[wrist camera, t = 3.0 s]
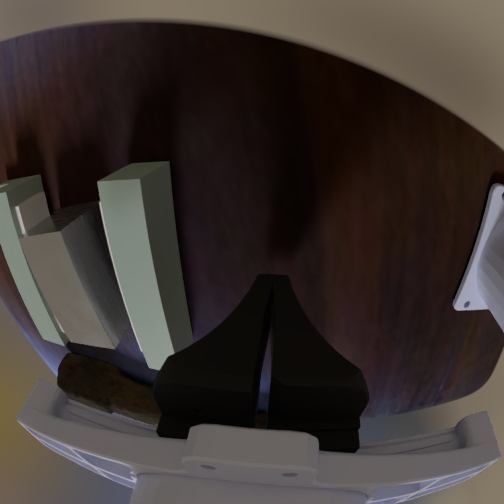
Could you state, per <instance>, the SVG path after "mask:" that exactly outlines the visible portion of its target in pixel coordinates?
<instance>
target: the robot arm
mask: <svg viewBox="0 0 504 504" xmlns="http://www.w3.org/2000/svg"><path fill="white" fill-rule="evenodd" d="M503 192H504V185H502V184H498V183H495V184H493V185H492V187H491V189H490V192H489V196H488V201H487V205H486V209H485V213H484V216H483V220H482V224H481V227H480V230H479V234H478V237H477V240H476V243H475V246H474V249H473V252H472V255H471V258H470V261H469V264H468V266H467V269H466V272H465V274H464V277H463V280H462V282H461V285H460V287H459V289H458V292H457V294H456V296H455V299H454V301H453V306H454V308H455V309H456V310H458V311H459V310H479V309H489V310H490V312H491V313H492V315H493V316H494V318H495V319H496V321H497V322H498V324H499V325H500V327H501V329H502V330H503V332H504V195H503V197H502V194H503ZM269 332H270V343H271V382H270V394H269V405H268V416H267V426H266V429H255V428H256V418H257V409H258V399H259V390H260V380H261V372H262V366H263V362H264V357H265V352H266V347H267V342H268V337H269ZM152 394H153V397H154V399H155V401H156V403H157V405H158V407H159V409H160V411H161V413H162V414H161V417H160V420H159V423H158V426H157V427H154V426H150V425H146V424H142V423H139V422H135V421H132V420H128V419H125V418H122V417H118V416H115V415H112V414H109V413H106V412H103V411H100V410H97V409H95V408H92V407H89V406H86V405H84V404H81V403H79V402H76V401H74V400H71V399H69V398H67V396H66V394H65V393H64V391H63V390H62V389H61V388H59V387H58V386H56V385H54V384H52V383H49V382H47V381H45V380H43V379H39V380H38V382H37V383H36V385H35V387H34V388H33V390H32V391H31V393H30V395H29V396H28V398H27V400H26V402H25V403H24V405H23V407H22V408H21V410H20V412H19V413H18V415H17V417H16V420H17V421H18V422H19V423H20V424H21V425H22V426H23V427H24V428H25V429H27V430H28V431H29V432H30V433H31V434H32V435H33V436H34V437H35V438H37V439H38V440H39V441H40V442H41V443H42V444H44V445H45V446H46V447H48V448H50V449H51V450H53V451H55V452H57V453H59V454H60V455H62V456H64V457H66V458H68V459H70V460H72V461H74V462H75V463H78V464H79V465H81V466H83V467H85V468H87V469H89V470H91V471H93V472H96V473H98V474H100V475H102V476H104V477H106V478H108V479H111V480H113V481H116V482H118V483H120V484H123V485H125V486H128V487H131V488H133V489H134V490H133V493H132V496H131V500H130V503H129V504H395V503H399V502H403V501H407V500H410V499H414V498H417V497H420V496H424V495H427V494H429V493H433V492H436V491H439V490H442V489H444V488H447V487H450V486H453V485H455V484H458V483H461V482H463V481H466V480H468V479H469V478H471V477H473V476H474V475H476V474H477V473H479V472H480V471H482V470H484V469H485V468H486V467H488V466H489V465H491V464H492V463H494V462H495V461H496V460H498V459H499V458H500V457H501V455H500V451H499V447H498V444H497V440H496V437H495V434H494V431H493V428H492V425H491V422H490V419H489V416H488V413H487V411H482V412H479V413H476V414H472V415H469V416H466V417H465V418H463V419H462V420H461V421H460V422H459V423H458V424H457V425H456V426H455V427H453V428H449V429H445V430H440V431H436V432H431V433H427V434H422V435H416V436H411V437H405V438H399V439H392V440H384V441H376V442H367V443H359V433H358V429H359V428H360V418H359V417H360V416H361V414H362V413H363V411H364V409H365V408H366V406H367V404H368V402H369V392H368V387H367V384H366V381H365V378H364V376H363V373H362V371H361V369H359V368H358V367H357V366H355V365H354V364H352V363H351V362H350V361H348V360H347V359H345V358H344V357H343V356H342V355H340V354H339V353H338V352H337V351H336V350H335V349H334V348H333V347H332V346H331V345H330V344H329V343H328V342H327V341H326V340H325V339H324V338H323V337H322V335H321V334H320V333H319V332H318V331H317V329H316V328H315V327H314V325H313V324H312V323H311V321H310V320H309V318H308V317H307V315H306V313H305V312H304V310H303V308H302V307H301V305H300V303H299V301H298V299H297V297H296V295H295V293H294V290H293V288H292V285H291V282H290V278H289V277H288V276H287V275H273V274H259V275H258V276H257V277H256V280H255V282H254V283H253V285H252V287H251V288H250V290H249V291H248V293H247V294H246V295H245V297H244V298H243V300H242V301H241V302H240V303H239V304H238V306H237V307H236V308H235V309H234V310H233V312H232V313H231V314H230V315H229V316H228V317H227V318H226V319H225V320H224V321H223V322H222V323H220V324H219V325H218V326H217V327H216V328H215V329H213V330H212V331H211V332H210V333H208V334H207V335H206V336H204V337H203V338H201V339H200V340H198V341H197V342H195V343H193V344H192V345H190V346H188V347H187V348H185V349H183V350H181V351H179V352H176V353H174V354H172V355H170V356H168V357H167V359H166V360H165V362H164V364H163V365H162V367H161V369H160V370H159V372H158V375H157V377H156V380H155V382H154V385H153V388H152Z"/></svg>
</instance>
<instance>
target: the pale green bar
mask: <svg viewBox="0 0 504 504" xmlns="http://www.w3.org/2000/svg"><path fill="white" fill-rule="evenodd" d="M48 216H50V214H49V210H48V206H47V201H46V197H45V192H44V190H43V185H42V180H41V174H40V175H34V176H29V177H23V178H18V179H13V180H8V181H5V182H4V183H2V184H0V244H1V247H2V249H3V252H4V255H5V258H6V260H7V263H8V266H9V268H10V271H11V273H12V276H13V278H14V281H15V283H16V285H17V288H18V290H19V292H20V294H21V296H22V299H23V301H24V303H25V305H26V307H27V309H28V311H29V313H30V315H31V317H32V319H33V321H34V323H35V325H36V327H37V328H38V330H39V332H40V334H41V336H42V338H43V339H45V340H48V341H51V342H54V343H57V344H60V345H63V346H66V344H67V343H68V341H69V339H68V337H67V335H66V334H65V332H64V331H63V329H62V327H61V326H60V324H59V322H58V320H57V319H56V317H55V315H54V313H53V312H52V310H51V308H50V306H49V304H48V302H47V301H46V299H45V297H44V295H43V293H42V291H41V289H40V287H39V285H38V283H37V281H36V279H35V277H34V274H33V272H32V270H31V268H30V266H29V263H28V261H27V259H26V256H25V254H24V252H23V249H22V247H21V244H20V242H19V239H18V238H19V237H20V236H22V235H23V234H24V233H26V232H27V231H28V230H30V229H31V228H32V227H34V226H35V225H37V224H38V223H39V222H41V221H42V220H44V219H45V218H47V217H48Z"/></svg>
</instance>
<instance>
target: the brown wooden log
mask: <svg viewBox="0 0 504 504" xmlns="http://www.w3.org/2000/svg"><path fill="white" fill-rule="evenodd" d="M57 384H58V387H59V388H61V389H62V390H63V391H64V393H65V394H66V396H67V398H69V399H71V400H74V401H76V402H79V403H81V404H84V405H86V406H89V407H92V408H95V409H97V410H100V411H103V412H106V413H109V414H112V413H113V412H116V413H118V414H122V415H125V416H127V417H130V418H133V419H135V420H139V421H141V422H144V423H147V424H150V425H153V426H156V427H157V426H158V423H159V420H160V417H161V414H162V413H161V411H160V409H159V407H158V405H157V403H156V401H155V399H154V397H153V394H152V388H153V387H151V386H148V385H145V384H142V383H139V382H136V381H134V380H133V379H130V378H128V377H126V376H124V373H123V371H122V370H121V369H120V368H119V367H117V366H115V365H112V364H109V363H107V362H104V361H101V360H98V359H93V358H90V357H86V356H82V355H77V354H73V353H67V354H66V355H65V357H64V358H63V360H62V361H61V363H60V365H59V367H58V377H57ZM267 416H268V412H267V411H265V412H262V413H257V418H256V428H255V429H266V426H267Z"/></svg>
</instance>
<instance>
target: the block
mask: <svg viewBox="0 0 504 504" xmlns="http://www.w3.org/2000/svg"><path fill="white" fill-rule="evenodd" d="M99 202H100V200H97V201H92V202H87V203H82V204H78V205H73V206H68V207H64V208H60V209H59V210H57V211H56V212H54V213H53V214H51V215H50V216H48V217H47V218H45V219H44V220H42V221H41V222H39V223H38V224H37V225H35V226H34V227H32V228H31V229H30V230H28V231H27V232H26V233H24V234H23V235H22V236H20V237H19V238H18V239H19V242H20V244H21V247H22V249H23V252H24V254H25V256H26V259H27V261H28V263H29V266H30V268H31V270H32V272H33V274H34V277H35V279H36V281H37V283H38V285H39V287H40V289H41V291H42V293H43V295H44V297H45V299H46V301H47V302H48V304H49V306H50V308H51V310H52V312H53V313H54V315H55V317H56V319H57V320H58V322H59V324H60V326H61V327H62V329H63V331H64V332H65V334H66V335H67V337H68V339H69V340H70V342H73V343H79V344H85V345H91V346H97V347H103V348H110V349H116V347H117V345H118V343H119V342H120V340H121V338H122V336H123V335H124V333H125V331H126V330H127V328H128V326H129V324H130V323H131V322H130V319H129V316H128V313H127V310H126V307H125V304H124V301H123V297H122V294H121V291H120V287H119V284H118V281H117V277H116V274H115V270H114V266H113V262H112V259H111V255H110V251H109V247H108V242H107V238H106V234H105V229H104V225H103V220H102V215H101V210H100V205H99Z"/></svg>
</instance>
